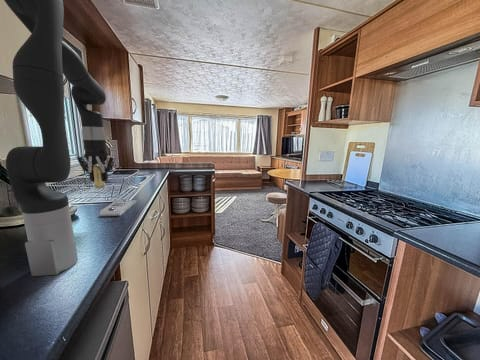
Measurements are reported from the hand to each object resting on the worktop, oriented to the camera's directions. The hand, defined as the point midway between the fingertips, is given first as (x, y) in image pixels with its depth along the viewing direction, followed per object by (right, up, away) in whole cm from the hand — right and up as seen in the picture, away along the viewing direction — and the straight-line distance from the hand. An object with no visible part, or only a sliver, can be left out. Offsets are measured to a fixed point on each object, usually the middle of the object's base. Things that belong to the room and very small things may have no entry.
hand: (99, 181), depth 86 cm
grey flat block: (-2, -14, +17) cm, 22 cm away
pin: (0, -3, +1) cm, 3 cm away
